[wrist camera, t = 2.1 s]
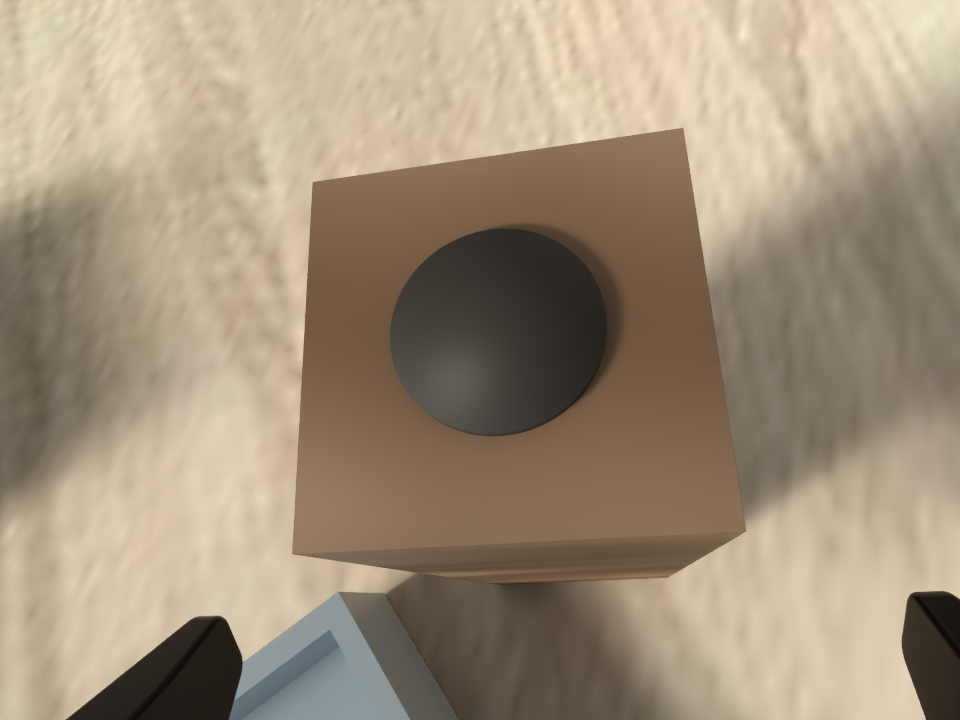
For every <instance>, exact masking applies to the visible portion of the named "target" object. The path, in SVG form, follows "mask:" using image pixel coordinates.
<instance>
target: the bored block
mask: <svg viewBox="0 0 960 720" xmlns="http://www.w3.org/2000/svg"><path fill="white" fill-rule="evenodd" d="M744 532H746V527H745V521H744V515H743V508H742V502H741V495H740V489H739V483H738V476H737V470H736V463H735V457H734V451H733V444H732V438H731V431H730V425H729V419H728V412H727V406H726V399H725V393H724V387H723V380H722V374H721V367H720V361H719V355H718V348H717V342H716V335H715V329H714V322H713V316H712V310H711V303H710V297H709V290H708V284H707V278H706V271H705V265H704V258H703V252H702V246H701V239H700V233H699V226H698V220H697V214H696V207H695V201H694V194H693V188H692V182H691V175H690V169H689V162H688V156H687V150H686V143H685V137H684V130H683V128H680V129H673V130H666V131H660V132H653V133H646V134H639V135H632V136H625V137H618V138H612V139H605V140H598V141H591V142H584V143H577V144H571V145H564V146H557V147H550V148H543V149H536V150H529V151H523V152H516V153H509V154H502V155H495V156H488V157H482V158H475V159H468V160H461V161H454V162H447V163H440V164H434V165H427V166H420V167H413V168H406V169H399V170H393V171H386V172H379V173H372V174H365V175H358V176H351V177H345V178H338V179H331V180H324V181H317V182H313V187H312V205H311V223H310V242H309V260H308V278H307V296H306V314H305V333H304V351H303V369H302V387H301V405H300V424H299V442H298V460H297V478H296V496H295V515H294V533H293V551H292V554H295V555H302V556H308V557H315V558H322V559H329V560H336V561H342V562H349V563H356V564H363V565H370V566H376V567H383V568H390V569H397V570H403V571H410V572H417V573H424V574H431V575H437V576H444V577H451V578H458V579H465V580H471V581H478V582H485V583H492V584H520V583H545V582H570V581H594V580H619V579H644V578H668V577H669V576H671V575H673V574H674V573H676V572H678V571H679V570H681V569H683V568H685V567H686V566H688V565H690V564H691V563H693V562H695V561H696V560H698V559H700V558H702V557H703V556H705V555H707V554H708V553H710V552H712V551H713V550H715V549H717V548H718V547H720V546H722V545H724V544H725V543H727V542H729V541H730V540H732V539H734V538H735V537H737V536H739V535H741V534H742V533H744Z"/></svg>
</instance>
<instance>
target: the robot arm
mask: <svg viewBox="0 0 960 720" xmlns="http://www.w3.org/2000/svg"><path fill="white" fill-rule="evenodd" d="M902 651H903V655H904V659H905V662H906V665H907V668H908V671H909V674H910V676H911V679H912V682H913V685H914V687H915V690H916V693H917V696H918V698H919V701H920V704H921V707H922V709H923V712H924V715H925V718H926V720H960V599H959V598H957V597H956V596H954V595H953V594H951V593H948V592H945V591H932V592H914V593H912V594H911V595H910V596H909V597H908V600H907V605H906V613H905V620H904V627H903V634H902ZM242 668H243V661H242V655H241V652H240V650H239V648H238V645H237V643H236V641H235V638H234V636H233V634H232V631H231V629H230V627H229V624H228V622H227V621H226V619H224V618H223V617H222V616H199V617H195V618H193V619H191V620H190V621H188V622H187V623H186V624H185V625H183V626H182V627H181V628H180V629H178V630H177V631H176V632H175V633H173V634H172V635H171V636H170V637H168V638H167V639H166V640H165V641H163V642H162V643H161V644H160V645H158V646H157V647H156V648H155V649H153V650H152V651H151V652H150V653H148V654H147V655H146V656H145V657H143V658H142V659H141V660H140V661H138V662H137V663H136V664H135V665H134V666H132V667H131V668H130V669H129V670H127V671H126V672H125V673H124V674H122V675H121V676H120V677H119V678H117V679H116V680H115V681H114V682H112V683H111V684H110V685H109V686H107V687H106V688H105V689H104V690H102V691H101V692H100V693H99V694H97V695H96V696H95V697H94V698H92V699H91V700H90V701H89V702H87V703H86V704H85V705H84V706H82V707H81V708H80V709H79V710H77V711H76V712H75V713H74V714H72V715H71V716H70V717H69V718H67V719H66V720H229V718H230V714H231V711H232V707H233V703H234V700H235V696H236V693H237V689H238V685H239V682H240V678H241V674H242Z"/></svg>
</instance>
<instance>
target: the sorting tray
mask: <svg viewBox="0 0 960 720" xmlns="http://www.w3.org/2000/svg"><path fill="white" fill-rule="evenodd" d="M229 720H459V718H458V717H457V715H456V713H455V712H454V710H453V708H452V707H451V705H450V703H449V702H448V700H447V698H446V696H445V695H444V693H443V691H442V690H441V688H440V686H439V685H438V683H437V681H436V680H435V678H434V676H433V675H432V673H431V671H430V669H429V668H428V666H427V664H426V663H425V661H424V659H423V658H422V656H421V654H420V653H419V651H418V649H417V647H416V646H415V644H414V642H413V641H412V639H411V637H410V636H409V634H408V632H407V631H406V629H405V627H404V626H403V624H402V622H401V620H400V619H399V617H398V615H397V614H396V612H395V610H394V609H393V607H392V605H391V604H390V602H389V600H388V599H387V597H386V595H385V594H379V593H354V592H337V593H336V594H335V595H333V596H332V597H331V598H329V599H328V600H327V601H325V602H324V603H323V604H321V605H320V606H319V607H317V608H316V609H314V610H313V611H312V612H310V613H309V614H308V615H306V616H305V617H304V618H302V619H301V620H300V621H298V622H297V623H296V624H294V625H293V626H292V627H290V628H289V629H288V630H286V631H285V632H284V633H282V634H281V635H280V636H278V637H277V638H276V639H274V640H273V641H271V642H270V643H269V644H267V645H266V646H265V647H263V648H262V649H261V650H259V651H258V652H257V653H255V654H254V655H253V656H251V657H250V658H249V659H247V660H246V661H245V662H243V668H242V674H241V678H240V682H239V685H238V689H237V693H236V696H235V700H234V703H233V707H232V711H231V714H230V718H229Z"/></svg>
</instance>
